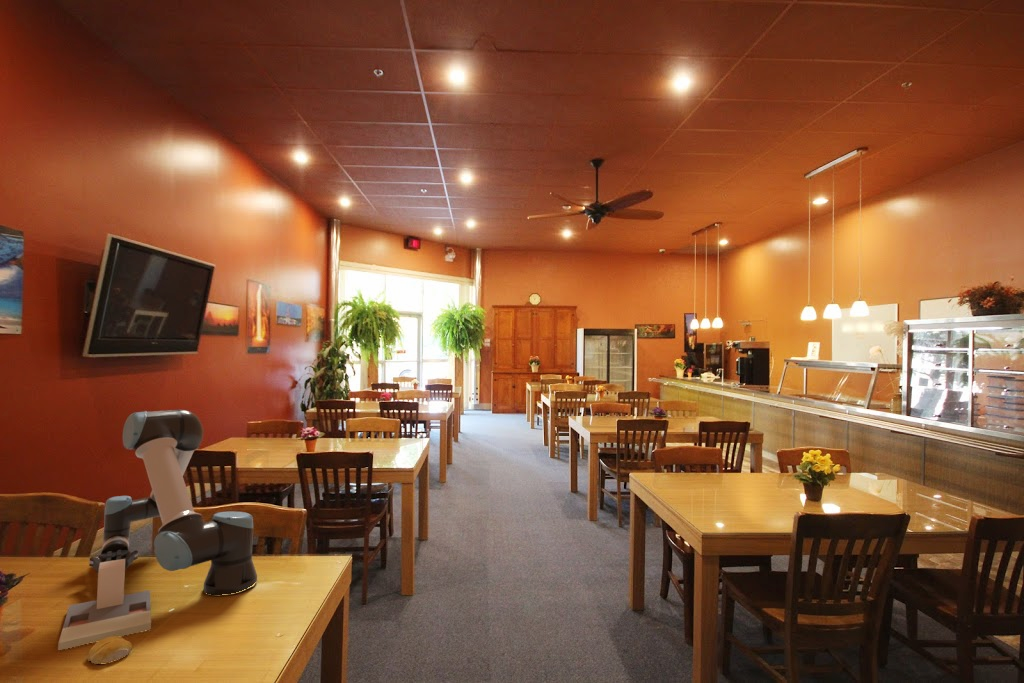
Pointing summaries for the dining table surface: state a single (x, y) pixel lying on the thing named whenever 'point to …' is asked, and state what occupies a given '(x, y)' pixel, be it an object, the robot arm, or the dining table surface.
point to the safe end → (104, 629)
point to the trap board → (107, 609)
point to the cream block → (111, 583)
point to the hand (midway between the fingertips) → (111, 575)
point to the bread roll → (109, 650)
